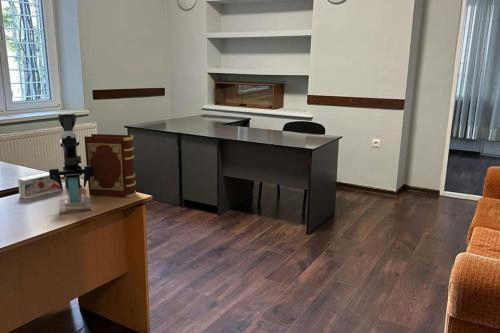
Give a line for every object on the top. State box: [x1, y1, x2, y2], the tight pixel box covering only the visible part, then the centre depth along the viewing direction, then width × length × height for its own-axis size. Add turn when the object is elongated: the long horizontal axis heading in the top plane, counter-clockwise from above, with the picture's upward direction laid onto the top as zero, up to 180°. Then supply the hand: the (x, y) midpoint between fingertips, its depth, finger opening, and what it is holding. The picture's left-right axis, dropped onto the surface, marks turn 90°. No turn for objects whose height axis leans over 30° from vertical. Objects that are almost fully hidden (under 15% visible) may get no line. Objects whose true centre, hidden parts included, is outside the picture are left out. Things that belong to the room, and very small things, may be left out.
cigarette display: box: [17, 171, 63, 200], centre depth 209 cm, size 20×6×9 cm, turn 145°
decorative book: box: [84, 133, 137, 198], centre depth 206 cm, size 22×8×30 cm, turn 84°
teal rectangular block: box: [67, 177, 80, 203], centre depth 190 cm, size 6×4×12 cm, turn 23°
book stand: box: [58, 193, 92, 215], centre depth 191 cm, size 18×13×4 cm
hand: (73, 188), depth 188 cm, fingers open, 9 cm apart
